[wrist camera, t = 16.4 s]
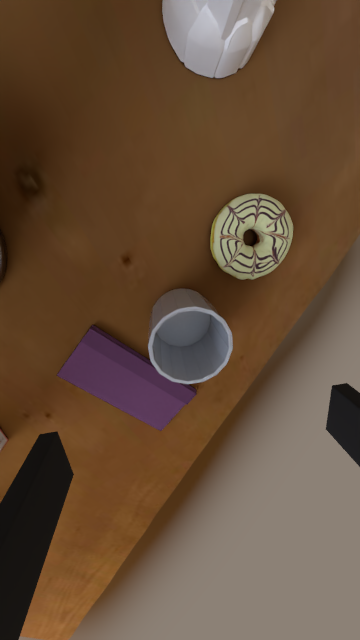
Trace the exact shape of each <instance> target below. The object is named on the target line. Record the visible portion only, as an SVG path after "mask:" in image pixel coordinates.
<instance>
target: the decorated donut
mask: <svg viewBox="0 0 360 640" xmlns="http://www.w3.org/2000/svg"><path fill="white" fill-rule="evenodd" d="M248 229H252V230H253V231H255V233H256V234H257V242H256V243H255V245H253V246H252V247H251V246H247V245H245V243H244V241H243V234H244V232H245V231H246V230H248ZM292 237H293V223H292V221H291V218H290V216H289V214H288V212H287V211H286V209H285V208H284V207H283V205H282V204H281V203H280V202H279V201H277V200H275V199H274V198H272V197H270V196H268V195H264V194H245V195H242V196H239V197H237V198H235V199H233V200H231V201H230V202H229V203H228V204H227V205H225V206H224V207H223V208H222V209H221V211H220V212H219V213H218V215H217V216H216V217H215V219H214V222H213V224H212V229H211V237H210V240H211V242H210V243H211V246H210V247H211V252H212V255H213V257H214V259H215V260H216V262H217V263H218V265H219V267H220V268H221V269H222V270H223V271H224V272H226V273H229V274H231V275H232V276H233V277H236V278H238V279H241V280H243V279H251V280H253V279H256V278H258V277H260V276H263V275H266V274H268V273H270V272H272V271H273V270H274V269H275V268H276V267H277V266H278V265H279V264H280V263H281V261H282V260H283V259H284V258H285V256H286V254H287V252H288V250H289V247H290V245H291V241H292Z"/></svg>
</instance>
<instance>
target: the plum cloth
mask: <svg viewBox="0 0 360 640" xmlns="http://www.w3.org/2000/svg"><path fill="white" fill-rule="evenodd" d="M57 376H59V377H60V378H62V379H64V380H66V381H68V382H70V383H72V384H74V385H75V386H77V387H79V388H81V389H83V390H85V391H87V392H89V393H91V394H92V395H94V396H96V397H98V398H100V399H102V400H104V401H106V402H107V403H109V404H111V405H113V406H115V407H117V408H119V409H121V410H122V411H124V412H126V413H128V414H130V415H132V416H134V417H136V418H138V419H139V420H141V421H143V422H145V423H147V424H149V425H151V426H153V427H154V428H156V429H158V430H160V431H161V430H162V429H163V428H164V427H165V426H166V425H167V424H168V423H169V422H170V420H171V419H172V418H173V417H174V416H175V415H176V414H177V413H178V412H179V410H180V409H181V408H182V407H183V406H184V405H185V404H188V403H189V402H190V401H191V400H192V398H193V397H194V396H195V395H196V389H195V388H193V387H192V386H190V385H188V384H183V383H178V382H172V381H171V380H169V379H167V378H166V377H164V376H162V375H161V374H159V372H158V371H157V370H156V368H155V367H154V365H153V364H152V362H151V361H150V360H148V359H147V358H145V357H144V356H142V355H141V354H139V353H137V352H136V351H134V350H133V349H131V348H129V347H128V346H126V345H125V344H123V343H121V342H120V341H118V340H117V339H115V338H113V337H112V336H110V335H109V334H107V333H105V332H104V331H102V330H101V329H99V328H97V327H96V326H94V325H92V326H91V328H90V329H89V331H88V332H87V333H86V335H85V336H84V338H83V339H82V340H81V342H80V343H79V345H78V346H77V347H76V349H75V350H74V352H73V353H72V354H71V356H70V357H69V359H68V360H67V361H66V363H65V364H64V366H63V367H62V368H61V370H60V371H59V373H58V374H57Z"/></svg>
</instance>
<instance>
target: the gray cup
mask: <svg viewBox="0 0 360 640" xmlns="http://www.w3.org/2000/svg"><path fill="white" fill-rule="evenodd" d="M148 349H149V355H150V360H151V362H152V364H153V365H154V367H155V368H156V370H157V371H158V372H159V374H161V375H162V376H164V377H166V378H167V379H169V380H171V381H172V382H178V383H183V384H193V383H199V382H204V381H206V380H207V379H209V378H211V377H213V376H215V375H217V374H218V373H219V372H220V370H221V369H222V368H223V367H224V366H225V365H226V364H227V362H228V360H229V357H230V354H231V352H232V349H233V345H232V333H231V331H230V329H229V327H228V325H227V323H226V321H225V320H224V319H223V317H222V316H221V315H220V314H219V313H218V312H217V310H216V309H215V308H214V307H213V306H212V305H211V303H210V302H209V301H208V300H207V299H206V298H205V297H204V296H202V295H201V294H200V293H198V292H196V291H194V290H191V289H184V288H181V289H174V290H171V291H169V292H167V293H165V294H164V295H162V296H161V297H160V298H159V299H158V300H157V301H156V303H155V304H154V306H153V309H152V312H151V316H150V325H149V339H148Z"/></svg>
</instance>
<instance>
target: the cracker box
mask: <svg viewBox="0 0 360 640" xmlns="http://www.w3.org/2000/svg"><path fill="white" fill-rule="evenodd" d="M7 442H8V439H7V437H6V436H5V435H4V433H3V432H2V430H1V429H0V452H1V450H2V449H3V448H4V446H5V445H6V443H7Z"/></svg>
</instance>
